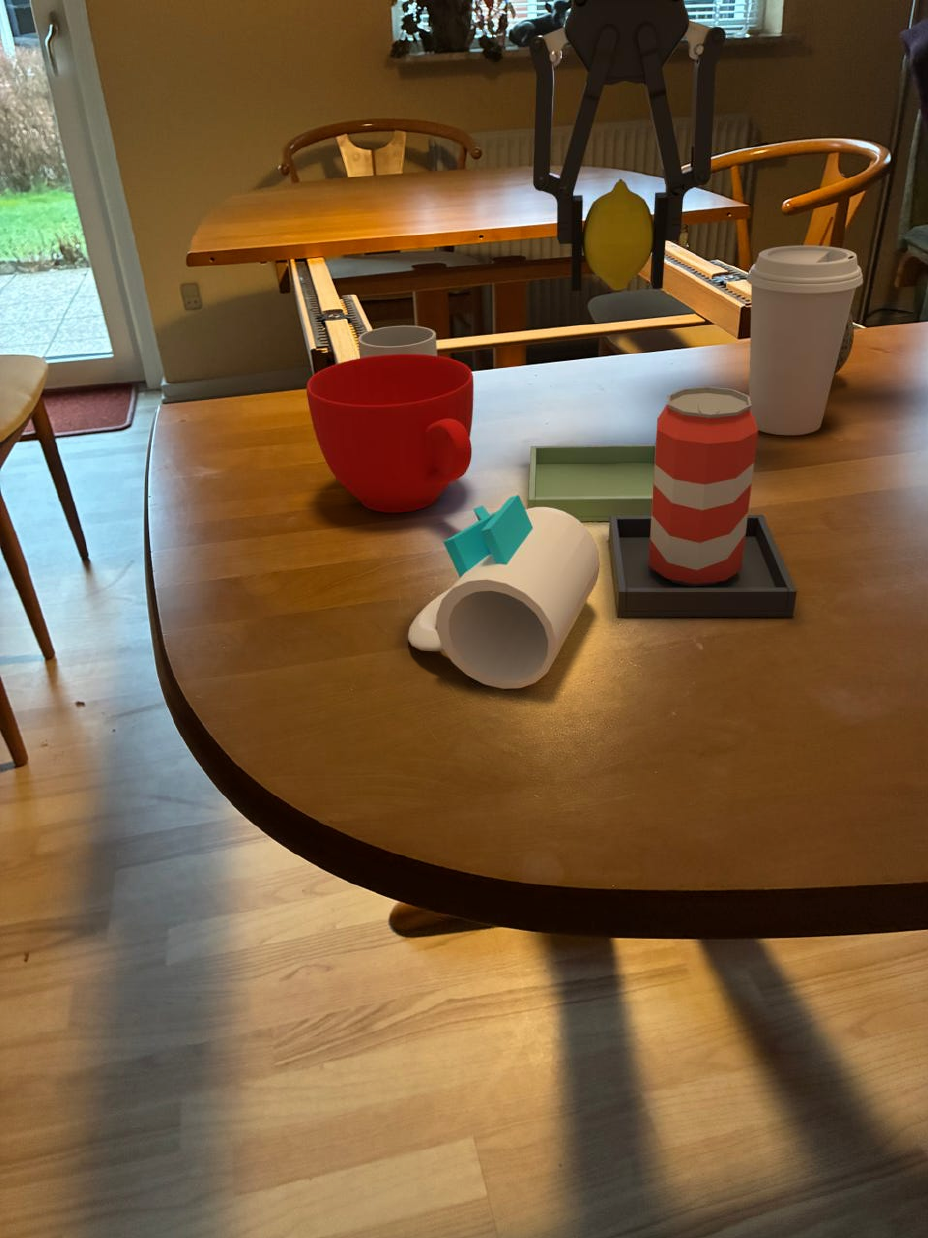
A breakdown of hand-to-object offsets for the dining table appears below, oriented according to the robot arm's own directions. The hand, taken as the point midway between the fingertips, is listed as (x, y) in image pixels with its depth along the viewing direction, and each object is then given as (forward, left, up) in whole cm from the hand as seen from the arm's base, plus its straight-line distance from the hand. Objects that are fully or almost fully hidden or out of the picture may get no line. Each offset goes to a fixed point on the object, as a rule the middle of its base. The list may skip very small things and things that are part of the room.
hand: (616, 285), depth 75 cm
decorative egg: (-22, -21, -15) cm, 34 cm away
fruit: (0, 0, -1) cm, 1 cm away
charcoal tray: (-5, +20, -15) cm, 25 cm away
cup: (+19, -8, -15) cm, 26 cm away
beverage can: (-5, +20, -15) cm, 25 cm away
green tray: (+1, +6, -15) cm, 16 cm away
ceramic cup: (+16, +8, -15) cm, 24 cm away
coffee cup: (-17, -9, -15) cm, 24 cm away
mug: (+8, +27, -15) cm, 32 cm away
